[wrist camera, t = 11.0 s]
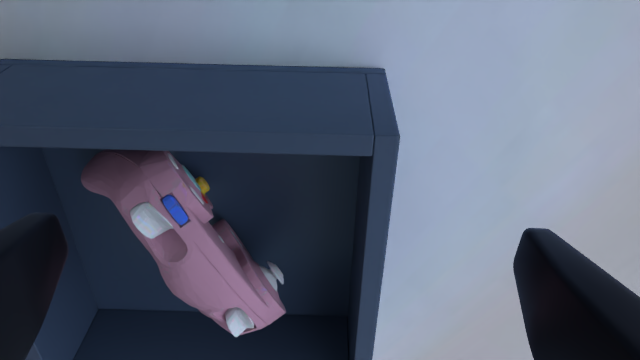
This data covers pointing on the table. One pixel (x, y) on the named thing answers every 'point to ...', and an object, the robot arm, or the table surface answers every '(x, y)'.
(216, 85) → the open box
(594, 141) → the table surface
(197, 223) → the video game controller
